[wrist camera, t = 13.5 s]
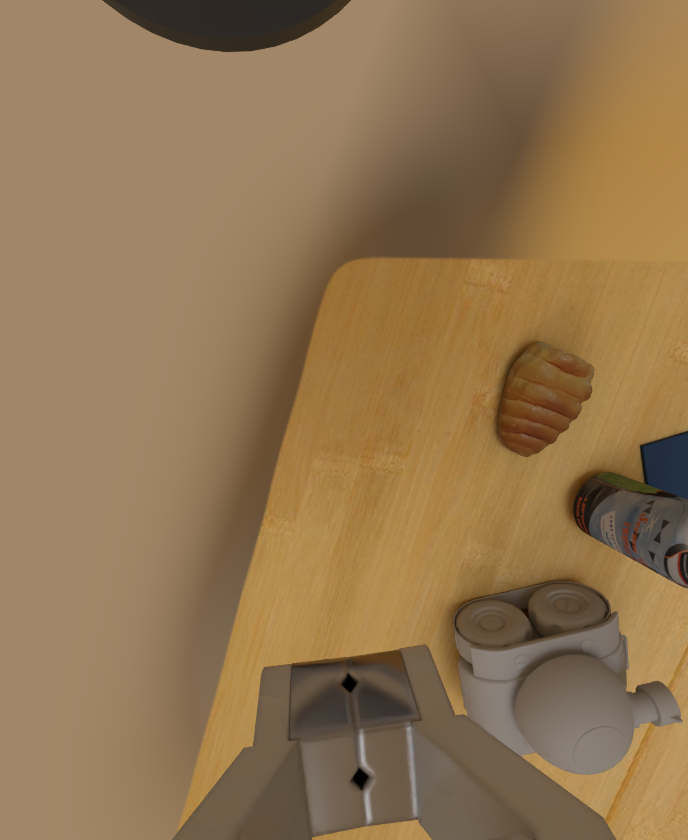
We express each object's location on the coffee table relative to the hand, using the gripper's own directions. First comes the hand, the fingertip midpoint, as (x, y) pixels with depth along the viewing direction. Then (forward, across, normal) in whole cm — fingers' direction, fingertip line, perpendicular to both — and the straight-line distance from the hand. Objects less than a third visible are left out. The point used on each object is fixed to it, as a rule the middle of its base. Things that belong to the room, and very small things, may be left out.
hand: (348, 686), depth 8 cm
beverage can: (+31, -26, +12) cm, 42 cm away
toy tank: (+31, -18, +25) cm, 44 cm away
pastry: (+31, -20, +1) cm, 37 cm away
